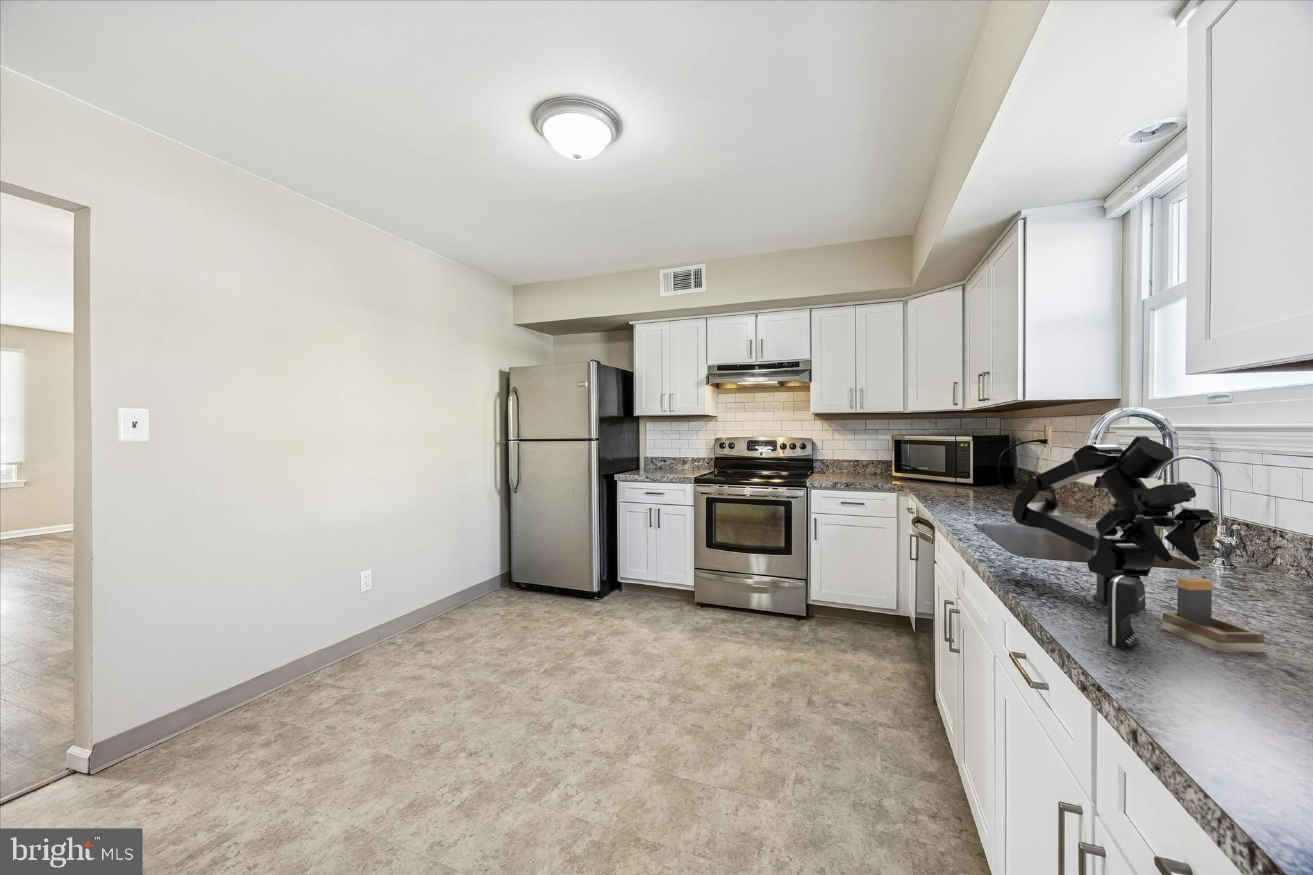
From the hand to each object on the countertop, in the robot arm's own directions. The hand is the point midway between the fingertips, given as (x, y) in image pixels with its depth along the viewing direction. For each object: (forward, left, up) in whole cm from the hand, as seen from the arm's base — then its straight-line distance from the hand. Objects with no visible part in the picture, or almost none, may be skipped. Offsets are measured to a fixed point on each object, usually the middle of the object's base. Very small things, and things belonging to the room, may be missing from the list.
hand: (1183, 560), depth 95 cm
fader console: (+1, -5, -13) cm, 13 cm away
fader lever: (0, -2, -11) cm, 11 cm away
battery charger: (-14, -11, -13) cm, 22 cm away
